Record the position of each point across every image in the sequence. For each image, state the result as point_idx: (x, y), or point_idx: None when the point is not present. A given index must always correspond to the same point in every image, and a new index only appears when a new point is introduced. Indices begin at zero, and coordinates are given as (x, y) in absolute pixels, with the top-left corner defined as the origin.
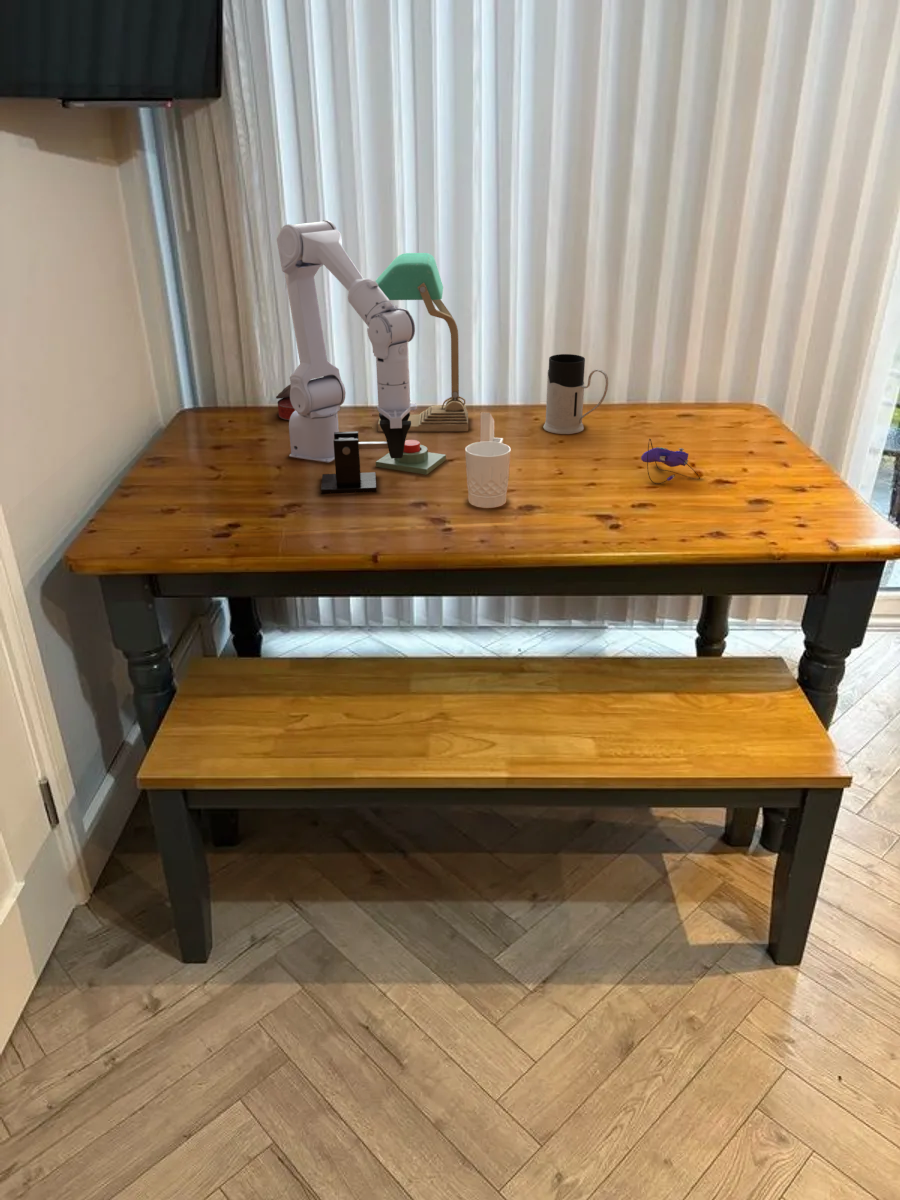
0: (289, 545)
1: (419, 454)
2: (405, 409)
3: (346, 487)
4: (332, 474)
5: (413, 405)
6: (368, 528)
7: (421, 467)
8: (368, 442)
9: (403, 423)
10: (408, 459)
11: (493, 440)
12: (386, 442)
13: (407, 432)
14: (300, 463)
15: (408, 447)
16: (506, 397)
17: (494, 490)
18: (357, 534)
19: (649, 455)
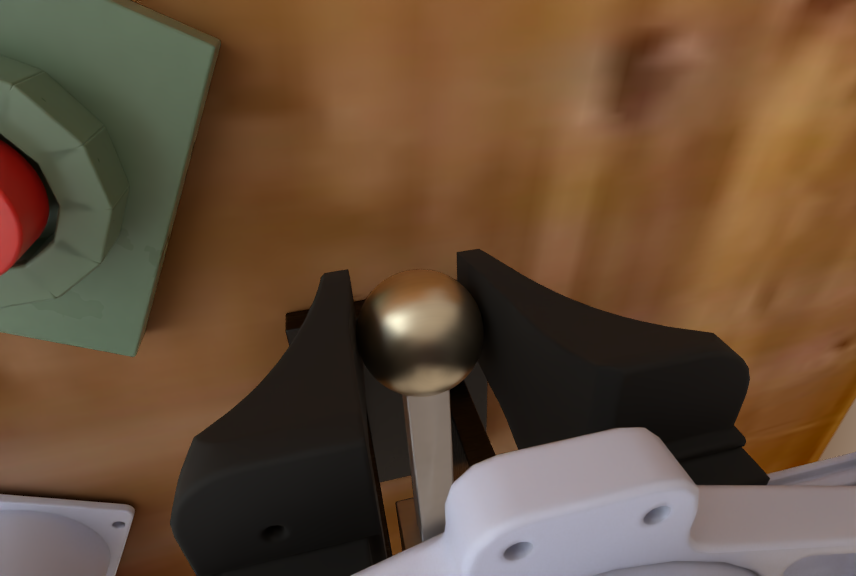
0: (790, 418)
1: (58, 120)
2: (777, 563)
3: (474, 395)
4: None
5: (627, 533)
6: (783, 256)
7: (183, 87)
8: (433, 486)
9: (698, 420)
10: (118, 190)
11: None
12: (429, 400)
13: (639, 321)
14: (152, 572)
15: (29, 223)
16: None
17: None
18: (809, 280)
19: None
